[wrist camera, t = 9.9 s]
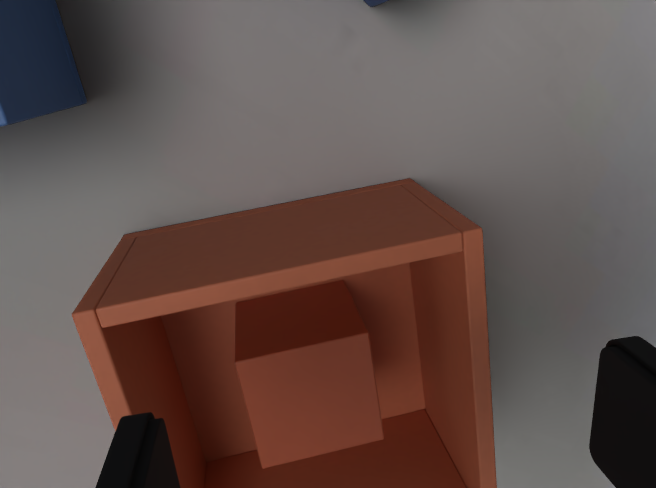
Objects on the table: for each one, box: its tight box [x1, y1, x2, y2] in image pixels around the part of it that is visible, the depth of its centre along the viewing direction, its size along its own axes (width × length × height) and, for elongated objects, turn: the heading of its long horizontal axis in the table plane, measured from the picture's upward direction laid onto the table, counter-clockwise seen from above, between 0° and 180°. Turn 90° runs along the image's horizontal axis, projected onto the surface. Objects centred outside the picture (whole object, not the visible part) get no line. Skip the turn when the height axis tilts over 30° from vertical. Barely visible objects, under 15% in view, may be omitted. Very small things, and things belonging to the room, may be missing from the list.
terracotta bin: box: [72, 178, 497, 488], centre depth 19 cm, size 11×11×7 cm
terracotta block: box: [234, 280, 384, 469], centre depth 19 cm, size 4×4×4 cm
